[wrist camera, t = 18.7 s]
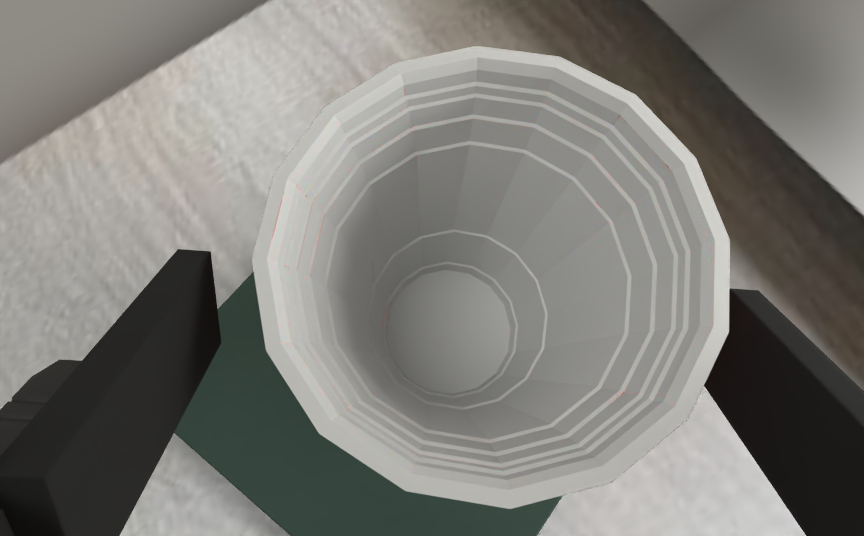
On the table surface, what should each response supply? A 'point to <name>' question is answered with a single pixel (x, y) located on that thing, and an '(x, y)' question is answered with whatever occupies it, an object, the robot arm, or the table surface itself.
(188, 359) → the robot arm
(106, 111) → the table surface
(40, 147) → the table surface
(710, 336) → the plastic cup
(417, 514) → the placemat
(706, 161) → the table surface
